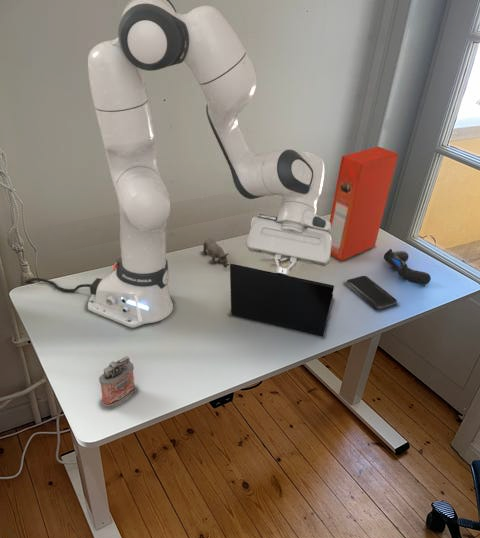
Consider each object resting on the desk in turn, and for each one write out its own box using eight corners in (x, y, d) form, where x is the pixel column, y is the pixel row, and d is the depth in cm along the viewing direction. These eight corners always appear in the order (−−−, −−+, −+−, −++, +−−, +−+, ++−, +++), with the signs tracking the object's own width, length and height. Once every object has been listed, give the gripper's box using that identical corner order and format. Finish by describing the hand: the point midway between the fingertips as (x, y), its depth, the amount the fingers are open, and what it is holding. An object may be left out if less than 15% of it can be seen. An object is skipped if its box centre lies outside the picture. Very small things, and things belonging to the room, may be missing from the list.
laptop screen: (230, 262, 121) (229, 265, 120) (334, 285, 116) (333, 287, 116) (231, 310, 135) (230, 312, 134) (324, 331, 130) (323, 334, 130)
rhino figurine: (222, 274, 152) (223, 257, 148) (199, 253, 161) (200, 236, 157) (233, 271, 154) (234, 254, 150) (211, 250, 162) (211, 233, 159)
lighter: (108, 410, 107) (104, 376, 100) (99, 402, 108) (94, 368, 102) (138, 391, 112) (136, 358, 105) (129, 383, 113) (126, 350, 107)
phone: (378, 307, 142) (345, 280, 152) (377, 311, 142) (344, 283, 152) (399, 301, 145) (365, 274, 155) (398, 304, 146) (365, 278, 156)
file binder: (323, 250, 168) (342, 155, 148) (356, 237, 177) (378, 146, 157) (341, 261, 163) (363, 164, 143) (374, 246, 172) (399, 154, 153)
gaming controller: (395, 265, 168) (376, 253, 163) (407, 251, 166) (388, 239, 161) (422, 293, 156) (402, 282, 150) (435, 279, 154) (415, 267, 148)
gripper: (251, 207, 120) (237, 263, 118) (337, 224, 116) (323, 281, 115) (255, 217, 126) (241, 269, 124) (336, 232, 122) (323, 287, 121)
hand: (281, 275), depth 119 cm, fingers closed, pressing on laptop screen
